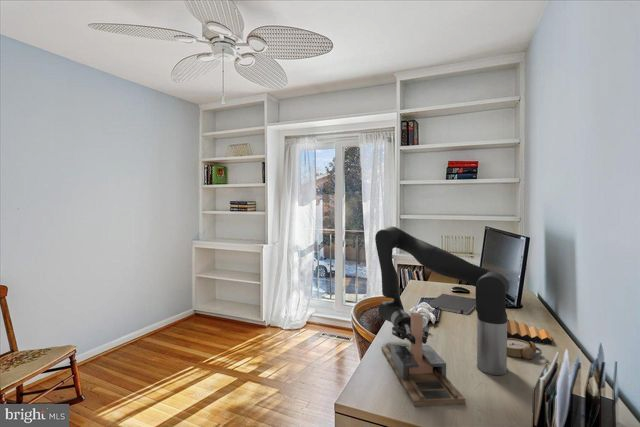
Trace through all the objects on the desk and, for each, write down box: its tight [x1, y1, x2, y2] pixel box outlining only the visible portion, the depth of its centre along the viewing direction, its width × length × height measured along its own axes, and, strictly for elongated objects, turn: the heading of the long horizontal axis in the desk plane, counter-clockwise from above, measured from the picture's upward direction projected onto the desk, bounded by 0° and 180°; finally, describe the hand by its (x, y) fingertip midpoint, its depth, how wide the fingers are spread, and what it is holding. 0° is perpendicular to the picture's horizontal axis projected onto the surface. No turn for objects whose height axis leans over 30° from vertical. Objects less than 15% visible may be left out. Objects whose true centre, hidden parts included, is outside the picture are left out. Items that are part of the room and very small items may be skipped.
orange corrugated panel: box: [507, 318, 553, 346], centre depth 151 cm, size 25×3×25 cm
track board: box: [381, 343, 466, 407], centre depth 112 cm, size 36×15×2 cm, turn 4°
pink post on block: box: [408, 313, 433, 374], centre depth 113 cm, size 8×8×18 cm
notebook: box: [427, 293, 476, 315], centre depth 189 cm, size 22×2×28 cm
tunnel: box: [390, 344, 447, 380], centre depth 112 cm, size 14×14×5 cm
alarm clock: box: [507, 337, 543, 360], centre depth 127 cm, size 11×5×15 cm
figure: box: [408, 301, 437, 327], centre depth 162 cm, size 13×8×25 cm
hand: (419, 340), depth 110 cm, fingers closed on pink post on block, 3 cm apart
